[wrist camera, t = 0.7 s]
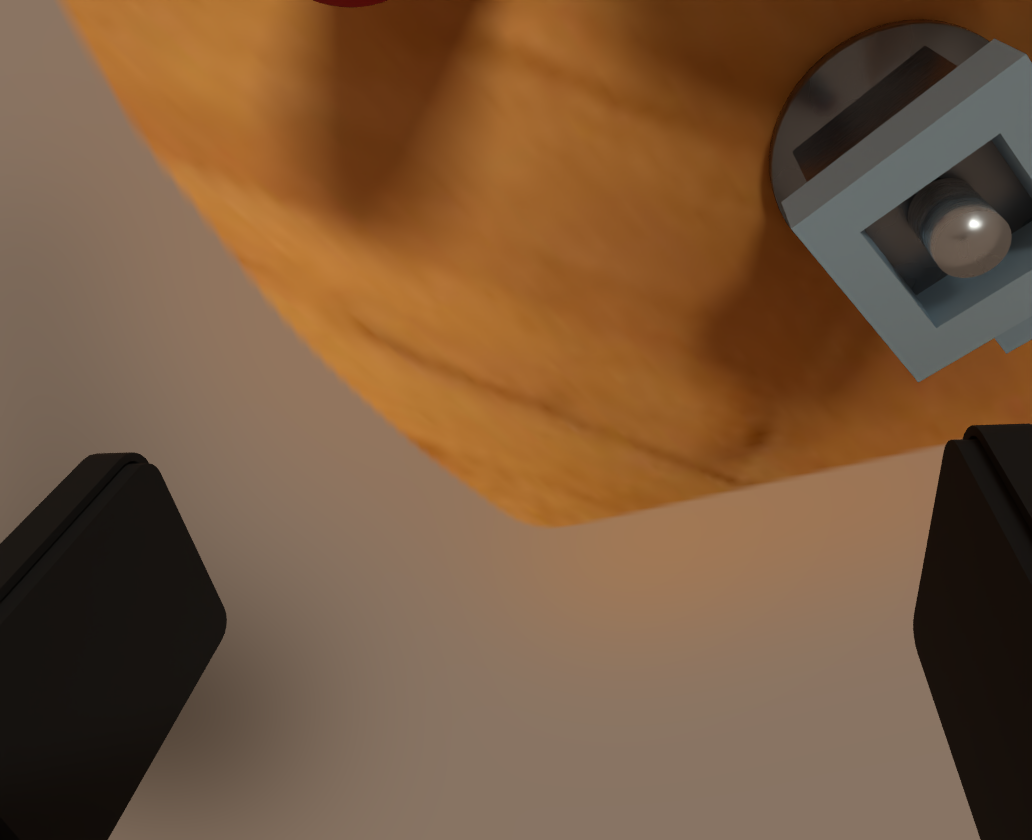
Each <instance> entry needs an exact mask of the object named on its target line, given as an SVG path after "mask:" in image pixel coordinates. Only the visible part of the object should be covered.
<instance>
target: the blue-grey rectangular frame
mask: <svg viewBox="0 0 1032 840" xmlns="http://www.w3.org/2000/svg"><path fill="white" fill-rule="evenodd" d="M990 140H992V142H993V143H994V145H995V146H996V147H997V149H998V150H999V152H1000V153H1001V155H1002V156H1003V158H1004V159H1005V161H1006V162H1007V163H1008V165H1009V166H1010V168H1011V169H1012V171H1013V172H1014V174H1015V175H1016V177H1017V178H1018V179H1019V181H1020V182H1021V184H1022V185H1023V187H1024V188H1025V190H1026V191H1027V193H1028V194H1029V195H1030V197H1031V198H1032V62H1031V61H1030V59H1029V58H1028V56H1027V54H1025V53H1023V52H1021V51H1019V50H1017V49H1015V48H1013V47H1011V46H1009V45H1007V44H1005V43H1003V42H1000V41H998V40H996V39H993V40H992V41H990V42H989V43H988V44H987V45H985V46H984V47H983V48H981V49H980V50H979V51H977V52H976V53H975V54H973V55H972V56H971V57H970V58H968V59H967V60H966V61H964V62H963V63H962V64H960V65H959V66H958V67H957V68H955V69H954V70H953V71H951V72H950V73H949V74H947V75H946V76H945V77H944V78H942V79H941V80H940V81H938V82H937V83H936V84H934V85H933V86H932V87H931V88H929V89H928V90H927V91H925V92H924V93H923V94H921V95H920V96H919V97H917V98H916V99H915V100H914V101H912V102H911V103H910V104H908V105H907V106H906V107H904V108H903V109H902V110H901V111H899V112H898V113H897V114H895V115H894V116H893V117H891V118H890V119H889V120H888V121H886V122H885V123H884V124H882V125H881V126H880V127H878V128H877V129H876V130H875V131H873V132H872V133H871V134H869V135H868V136H867V137H865V138H864V139H863V140H861V141H860V142H859V143H858V144H856V145H855V146H854V147H852V148H851V149H850V150H848V151H847V152H846V153H845V154H843V155H842V156H841V157H839V158H838V159H837V160H835V161H834V162H833V163H832V164H830V165H829V166H828V167H826V168H825V169H824V170H822V171H821V172H820V173H819V174H817V175H816V176H815V177H813V178H812V179H811V180H809V181H808V182H807V183H805V184H804V185H803V186H802V187H800V188H799V189H798V190H796V191H795V192H794V193H792V194H791V195H790V196H789V197H787V198H786V199H785V200H783V201H782V202H781V203H782V206H783V208H784V211H785V214H786V216H787V219H788V222H789V224H790V227H791V229H792V230H793V232H794V233H795V234H796V235H797V237H798V238H799V239H800V240H801V241H802V243H803V244H804V245H805V246H806V247H807V249H808V250H809V251H810V252H811V253H812V255H813V256H814V257H815V258H816V259H817V261H818V262H819V263H820V264H821V265H822V267H823V268H824V269H825V270H826V272H827V273H828V274H829V275H830V276H831V278H832V279H833V280H834V281H835V282H836V284H837V285H838V286H839V287H840V288H841V290H842V291H843V292H844V293H845V294H846V296H847V297H848V298H849V299H850V300H851V302H852V303H853V304H854V305H855V306H856V308H857V309H858V310H859V311H860V313H861V314H862V315H863V316H864V317H865V319H866V320H867V321H868V322H869V323H870V325H871V326H872V327H873V328H874V329H875V331H876V332H877V333H878V334H879V335H880V337H881V338H882V339H883V340H884V341H885V343H886V344H887V345H888V346H889V348H890V349H891V350H892V351H893V352H894V354H895V355H896V356H897V357H898V358H899V360H900V361H901V362H902V363H903V364H904V366H905V367H906V368H907V369H908V370H909V372H910V373H911V374H912V375H913V376H914V378H915V379H916V380H917V381H918V382H920V381H922V380H923V379H925V378H927V377H928V376H930V375H932V374H934V373H935V372H937V371H939V370H940V369H942V368H944V367H946V366H947V365H949V364H951V363H952V362H954V361H956V360H958V359H959V358H961V357H963V356H964V355H966V354H968V353H969V352H971V351H973V350H975V349H976V348H978V347H980V346H981V345H983V344H985V343H987V342H988V341H990V340H992V339H993V338H995V339H996V341H997V342H998V343H999V345H1000V346H1001V347H1002V349H1003V350H1004V351H1005V353H1006V354H1007V353H1009V352H1010V351H1012V350H1014V349H1016V348H1017V347H1019V346H1021V345H1023V344H1024V343H1026V342H1028V341H1030V340H1031V339H1032V221H1031V222H1030V223H1028V224H1027V225H1025V226H1023V227H1022V228H1020V229H1019V230H1017V231H1016V232H1014V233H1013V234H1012V239H1011V245H1010V248H1009V250H1008V252H1007V254H1006V256H1005V257H1004V258H1003V260H1002V261H1001V262H1000V263H999V264H998V265H997V266H995V267H994V268H993V269H991V270H990V271H988V272H986V273H984V274H982V275H979V276H975V277H970V278H958V277H954V276H951V275H947V276H946V277H944V278H942V279H941V280H939V281H938V282H936V283H935V284H933V285H932V286H930V287H928V288H927V289H925V290H924V291H922V292H921V293H919V294H918V295H915V294H914V292H913V291H912V290H911V289H910V287H909V286H908V285H907V283H906V282H905V281H904V280H903V278H902V277H901V276H900V275H899V273H898V272H897V271H896V270H895V268H894V267H893V266H892V264H891V263H890V262H889V261H888V259H887V258H886V257H885V256H884V254H883V253H882V252H881V251H880V249H879V248H878V247H877V245H876V244H875V243H874V242H873V240H872V239H871V238H870V237H869V235H868V234H867V233H866V232H865V230H864V229H866V228H867V227H868V226H870V225H871V224H873V223H874V222H875V221H877V220H878V219H880V218H881V217H882V216H884V215H885V214H887V213H888V212H890V211H891V210H892V209H894V208H895V207H897V206H898V205H899V204H901V203H902V202H904V201H905V200H907V199H908V198H909V197H911V196H912V195H914V194H915V193H916V192H918V191H919V190H921V189H922V188H923V187H925V186H926V185H928V184H929V183H931V182H932V181H933V180H935V179H936V178H938V177H939V176H940V175H942V174H943V173H945V172H946V171H947V170H949V169H950V168H952V167H953V166H955V165H956V164H957V163H959V162H960V161H962V160H963V159H964V158H966V157H967V156H969V155H970V154H972V153H973V152H974V151H976V150H977V149H979V148H980V147H981V146H983V145H984V144H986V143H987V142H988V141H990Z"/></svg>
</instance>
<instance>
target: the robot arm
mask: <svg viewBox="0 0 1032 840" xmlns="http://www.w3.org/2000/svg"><path fill="white" fill-rule="evenodd" d="M226 621H227V619H226V612H225V609H224V606H223V604H222V602H221V600H220V598H219V596H218V594H217V592H216V590H215V587H214V585H213V583H212V581H211V579H210V577H209V575H208V573H207V570H206V568H205V566H204V564H203V562H202V560H201V558H200V556H199V554H198V551H197V549H196V547H195V545H194V543H193V541H192V539H191V537H190V534H189V533H188V530H187V528H186V526H185V524H184V522H183V520H182V517H181V515H180V513H179V511H178V509H177V507H176V505H175V503H174V500H173V498H172V496H171V494H170V492H169V490H168V488H167V486H166V484H165V481H164V479H163V477H162V475H161V473H160V471H159V470H158V468H157V467H155V466H154V465H153V464H149V463H148V461H147V460H146V458H144V457H143V456H142V455H140V454H137V453H104V454H93V455H89V456H88V457H87V458H85V459H84V460H83V461H82V462H81V463H80V464H79V465H78V466H77V467H76V468H75V469H74V470H73V471H72V472H71V473H70V474H69V475H68V476H67V477H66V478H65V479H64V480H63V481H62V482H61V483H60V484H59V485H58V486H57V487H56V488H55V489H54V490H53V491H52V492H51V493H50V494H49V495H48V496H47V497H46V498H45V499H44V500H43V501H42V502H41V503H40V504H39V506H37V507H36V508H35V509H34V510H33V511H32V512H31V513H30V514H29V515H28V516H27V517H26V518H25V519H24V520H23V521H22V523H20V525H19V526H18V527H17V528H16V529H15V530H14V531H13V532H12V533H11V534H10V535H9V536H8V537H7V538H6V539H5V540H4V541H3V542H2V543H1V544H0V840H108V838H109V836H110V835H111V833H112V831H113V829H114V828H115V826H116V824H117V822H118V820H119V819H120V817H121V815H122V814H123V812H124V810H125V808H126V807H127V805H128V803H129V801H130V800H131V798H132V796H133V794H134V792H135V791H136V789H137V787H138V785H139V784H140V782H141V780H142V779H143V777H144V775H145V773H146V771H147V770H148V768H149V766H150V765H151V763H152V761H153V759H154V758H155V756H156V754H157V752H158V750H159V749H160V747H161V745H162V743H163V742H164V740H165V738H166V737H167V735H168V733H169V731H170V730H171V728H172V726H173V724H174V722H175V721H176V719H177V717H178V715H179V714H180V712H181V710H182V708H183V706H184V705H185V703H186V701H187V700H188V698H189V696H190V694H191V693H192V691H193V689H194V687H195V686H196V684H197V682H198V680H199V679H200V677H201V675H202V673H203V672H204V670H205V668H206V666H207V665H208V663H209V661H210V659H211V658H212V656H213V654H214V652H215V651H216V649H217V647H218V645H219V644H220V642H221V640H222V638H223V636H224V634H225V629H226ZM913 630H914V639H915V645H916V649H917V652H918V655H919V658H920V661H921V664H922V667H923V670H924V673H925V676H926V679H927V682H928V685H929V688H930V691H931V694H932V697H933V700H934V703H935V706H936V709H937V712H938V714H939V718H940V720H941V723H942V727H943V730H944V732H945V735H946V738H947V741H948V744H949V747H950V750H951V753H952V756H953V759H954V762H955V765H956V768H957V771H958V773H959V777H960V780H961V783H962V786H963V789H964V792H965V794H966V797H967V801H968V803H969V806H970V809H971V812H972V815H973V818H974V821H975V824H976V827H977V830H978V833H979V836H980V839H981V840H1032V425H1031V424H1003V425H972V426H970V427H969V428H968V429H967V430H966V432H965V433H964V437H963V440H950V441H948V442H947V444H946V446H945V450H944V454H943V459H942V465H941V470H940V475H939V481H938V487H937V492H936V497H935V503H934V508H933V514H932V519H931V525H930V530H929V536H928V541H927V548H926V552H925V558H924V563H923V569H922V574H921V580H920V585H919V591H918V597H917V601H916V607H915V613H914V620H913Z"/></svg>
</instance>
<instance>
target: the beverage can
mask: <svg viewBox="0 0 1032 840" xmlns="http://www.w3.org/2000/svg"><path fill="white" fill-rule="evenodd" d="M314 1H317V2H319V3H323V4H327V5H332V6H339V7H363V6H370V5H374V4H378V3H382V2H385V1H387V0H314Z"/></svg>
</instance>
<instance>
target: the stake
mask: <svg viewBox="0 0 1032 840" xmlns="http://www.w3.org/2000/svg"><path fill="white" fill-rule="evenodd" d="M988 43H989V41H988V40H986V39H984V38H983V37H981V36H979V35H977V34H975V33H973V32H971V31H969V30H967V29H964V28H962V27H960V26H957V25H954V24H950V23H946V22H942V21H933V20H905V21H899V22H894V23H888V24H885V25H882V26H878V27H875V28H872V29H869V30H867V31H865V32H862V33H860V34H858V35H856V36H854V37H852V38H850V39H848V40H847V41H845V42H843V43H842V44H840V45H838V46H837V47H835V48H834V49H833V50H831V51H830V52H829V53H827V54H826V55H825V56H823V57H822V58H821V59H820V60H819V61H818V62H817V63H816V64H815V65H814V66H813V67H812V68H811V69H809V71H808V72H807V73H806V74H805V75H804V76H803V78H802V79H801V80H800V81H799V82H798V84H797V85H796V87H795V88H794V90H793V91H792V92H791V94H790V95H789V97H788V99H787V101H786V102H785V104H784V106H783V108H782V110H781V112H780V115H779V117H778V120H777V123H776V125H775V128H774V132H773V136H772V140H771V145H770V155H769V173H770V179H771V185H772V189H773V192H774V195H775V198H776V201H777V204H778V207H779V209H780V211H781V213H782V215H783V217H784V219H785V221H786V223H787V224H788V225H789V227H790V224H789V222H788V219H787V216H786V214H785V211H784V208H783V206H782V203H781V202H782V201H783V200H785V199H786V198H787V197H789V196H790V195H791V194H792V193H794V192H795V191H796V190H798V189H799V188H800V187H802V186H803V185H804V184H805V183H807V182H808V181H809V180H811V179H812V178H813V177H815V176H816V175H817V174H819V173H820V172H821V171H822V170H824V169H825V168H826V167H828V166H829V165H830V164H832V163H833V162H834V161H835V160H837V159H838V158H839V157H841V156H842V155H843V154H845V153H846V152H847V151H848V150H850V149H851V148H852V147H854V146H855V145H856V144H858V143H859V142H860V141H861V140H863V139H864V138H865V137H867V136H868V135H869V134H871V133H872V132H873V131H875V130H876V129H877V128H878V127H880V126H881V125H882V124H884V123H885V122H886V121H888V120H889V119H890V118H891V117H893V116H894V115H895V114H897V113H898V112H899V111H901V110H902V109H903V108H904V107H906V106H907V105H908V104H910V103H911V102H912V101H914V100H915V99H916V98H917V97H919V96H920V95H921V94H923V93H924V92H925V91H927V90H928V89H929V88H931V87H932V86H933V85H934V84H936V83H937V82H938V81H940V80H941V79H942V78H944V77H945V76H946V75H947V74H949V73H950V72H951V71H953V70H954V69H955V68H957V67H958V66H959V65H960V64H962V63H963V62H964V61H966V60H967V59H968V58H970V57H971V56H972V55H973V54H975V53H976V52H977V51H979V50H980V49H981V48H983V47H984V46H985V45H987V44H988ZM1031 221H1032V198H1031V197H1030V195H1029V194H1028V193H1027V191H1026V190H1025V188H1024V187H1023V185H1022V184H1021V182H1020V181H1019V179H1018V178H1017V177H1016V175H1015V174H1014V172H1013V171H1012V169H1011V168H1010V166H1009V165H1008V163H1007V162H1006V161H1005V159H1004V158H1003V156H1002V155H1001V153H1000V152H999V150H998V149H997V147H996V146H995V145H994V143H993V142H992V140H990V141H988V142H987V143H986V144H984V145H983V146H981V147H980V148H979V149H977V150H976V151H974V152H973V153H972V154H970V155H969V156H967V157H966V158H964V159H963V160H962V161H960V162H959V163H957V164H956V165H955V166H953V167H952V168H950V169H949V170H947V171H946V172H945V173H943V174H942V175H940V176H939V177H938V178H936V179H935V180H933V181H932V182H931V183H929V184H928V185H926V186H925V187H923V188H922V189H921V190H919V191H918V192H916V193H915V194H914V195H912V196H911V197H909V198H908V199H907V200H905V201H904V202H902V203H901V204H899V205H898V206H897V207H895V208H894V209H892V210H891V211H890V212H888V213H887V214H885V215H884V216H882V217H881V218H880V219H878V220H877V221H875V222H874V223H873V224H871V225H870V226H868V227H867V228H866V229H864V230H865V232H866V233H867V234H868V235H869V237H870V238H871V239H872V240H873V242H874V243H875V244H876V245H877V247H878V248H879V249H880V251H881V252H882V253H883V254H884V256H885V257H886V258H887V259H888V261H889V262H890V263H891V264H892V266H893V267H894V268H895V270H896V271H897V272H898V273H899V275H900V276H901V277H902V278H903V280H904V281H905V282H906V283H907V285H908V286H909V287H910V289H911V290H912V291H913V292H914V294H915V295H918V294H919V293H921V292H922V291H924V290H925V289H927V288H928V287H930V286H932V285H933V284H935V283H936V282H938V281H939V280H941V279H942V278H944V277H946V276H947V275H951V276H954V277H958V278H970V277H975V276H979V275H982V274H984V273H986V272H988V271H990V270H991V269H993V268H994V267H995V266H997V265H998V264H999V263H1000V262H1001V261H1002V260H1003V258H1004V257H1005V256H1006V254H1007V252H1008V250H1009V248H1010V245H1011V239H1012V234H1013V233H1014V232H1016V231H1017V230H1019V229H1020V228H1022V227H1023V226H1025V225H1027V224H1028V223H1030V222H1031ZM790 228H791V227H790ZM791 230H792V229H791ZM792 231H793V230H792Z"/></svg>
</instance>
